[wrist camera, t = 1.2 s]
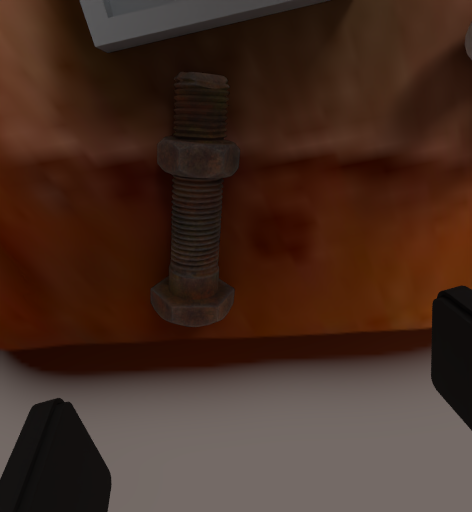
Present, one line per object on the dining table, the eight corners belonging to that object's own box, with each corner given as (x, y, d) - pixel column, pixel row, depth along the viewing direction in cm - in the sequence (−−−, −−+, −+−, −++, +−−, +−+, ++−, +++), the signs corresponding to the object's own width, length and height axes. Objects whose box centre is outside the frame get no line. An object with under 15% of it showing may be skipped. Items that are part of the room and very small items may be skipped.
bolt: (209, 79, 25) (199, 284, 30) (137, 69, 22) (141, 299, 27) (270, 79, 21) (245, 316, 26) (192, 67, 18) (183, 338, 23)
